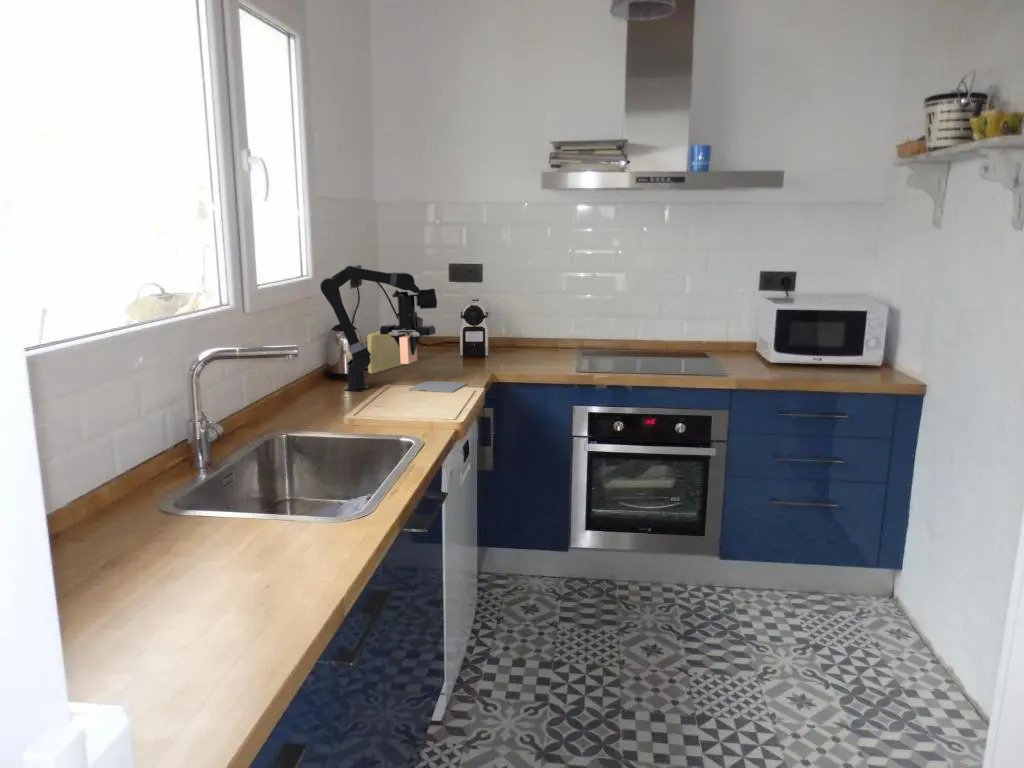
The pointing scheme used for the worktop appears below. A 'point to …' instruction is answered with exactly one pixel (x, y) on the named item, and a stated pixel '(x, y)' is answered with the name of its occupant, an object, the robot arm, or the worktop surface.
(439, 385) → the mat
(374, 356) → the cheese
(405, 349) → the slab
